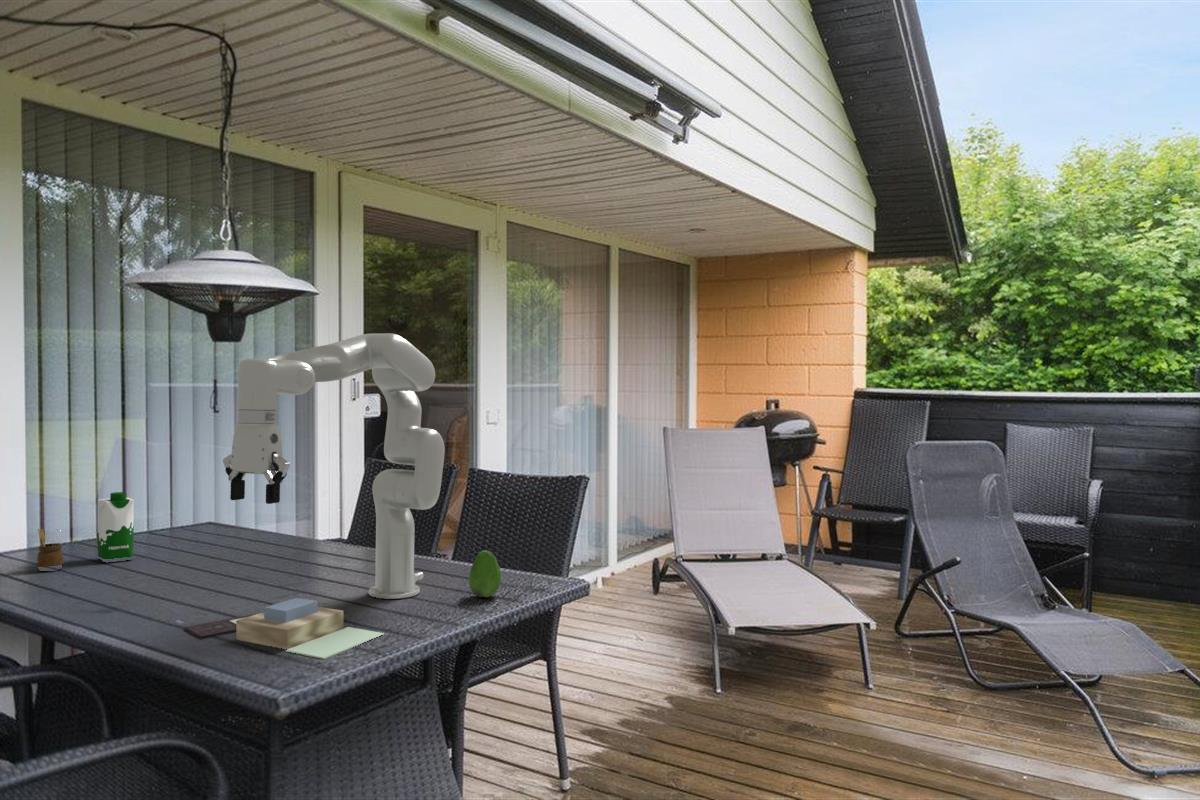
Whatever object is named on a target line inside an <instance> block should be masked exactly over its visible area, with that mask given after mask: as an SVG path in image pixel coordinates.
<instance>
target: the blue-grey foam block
mask: <svg viewBox="0 0 1200 800" xmlns="http://www.w3.org/2000/svg"><path fill="white" fill-rule="evenodd" d="M318 604H319V601H318V600H312V599H306V598H300V597H294V598H290V599H287V600H283V601H281V602H278V603H275V604H271V605H268V606H264V611H263V612H264V619H268V620H274V621H279V622H285V623H287V622H290V621H293V620H296V619H299V618H302V617H305V616H308V615H311V614H314V613H317V612H318V607H319V605H318Z"/></svg>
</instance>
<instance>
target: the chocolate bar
mask: <svg viewBox="0 0 1200 800" xmlns="http://www.w3.org/2000/svg"><path fill="white" fill-rule="evenodd" d="M259 613H260V612H258V613H253V614H247V615H243V616H238V617H232V618H227V619H221V620H216V621H210V622H206V623H205V622H204V623H200V624H194V625H187V626H184V628H183V629H185V630H184V631H186V632H187V631H188V633H189V632H190V634H191V633H192V634H191V635H193V636H195V637H196V636H197V637H196V638H198V637H199V638H198V639H200V640H204V639H208V637H209V638H213V636H214V637H219V636H224V635H228V633H229V634H234V633H236V624H237V620H239V619H243V618H246V617H249V616H253V615H256V614H259ZM233 632H234V633H233ZM223 634H224V635H223ZM218 635H219V636H218ZM203 638H204V639H203Z"/></svg>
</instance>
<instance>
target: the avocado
mask: <svg viewBox="0 0 1200 800" xmlns="http://www.w3.org/2000/svg"><path fill="white" fill-rule="evenodd" d="M468 578H469V579H468V584H469V587H470V590H471V592H472V593H473V594H474V595H475V596H476V597H478V598H481V597H485V598H490V597H491V596H493V595H494V594H496V592H498V590H499V588H500V585H501V580H502V575H501V568H500V566H499V562H498V560H497V557H496V556H495V555H494V554H493V552H492V551H490V550H486V549H485V550H482V551H480V552H478V554H476V558H475V559H474V560H473V564H472V565H471V568H470V571H469V577H468Z"/></svg>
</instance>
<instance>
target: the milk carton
mask: <svg viewBox="0 0 1200 800" xmlns="http://www.w3.org/2000/svg"><path fill="white" fill-rule="evenodd" d="M109 495H110V497H108V498H98V499H97V537H96V538H97V541H96V543H97V557H98V556H99V557H101V558H103V559H114V558H123V557H132V558H133V556H134V555H133V553H134V533H135V531H134V529H135V527H134V526H135V525H134V519H135V517H134V514H135V513H134V512H135V499H132V498H131V497H127V492H124V491H120V492H119V491H116V492H111V493H110V494H109Z"/></svg>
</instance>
